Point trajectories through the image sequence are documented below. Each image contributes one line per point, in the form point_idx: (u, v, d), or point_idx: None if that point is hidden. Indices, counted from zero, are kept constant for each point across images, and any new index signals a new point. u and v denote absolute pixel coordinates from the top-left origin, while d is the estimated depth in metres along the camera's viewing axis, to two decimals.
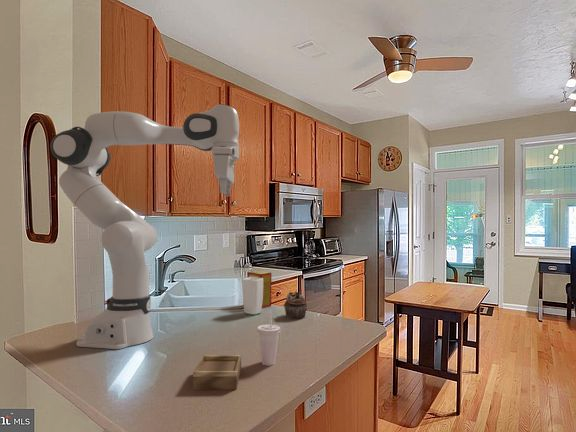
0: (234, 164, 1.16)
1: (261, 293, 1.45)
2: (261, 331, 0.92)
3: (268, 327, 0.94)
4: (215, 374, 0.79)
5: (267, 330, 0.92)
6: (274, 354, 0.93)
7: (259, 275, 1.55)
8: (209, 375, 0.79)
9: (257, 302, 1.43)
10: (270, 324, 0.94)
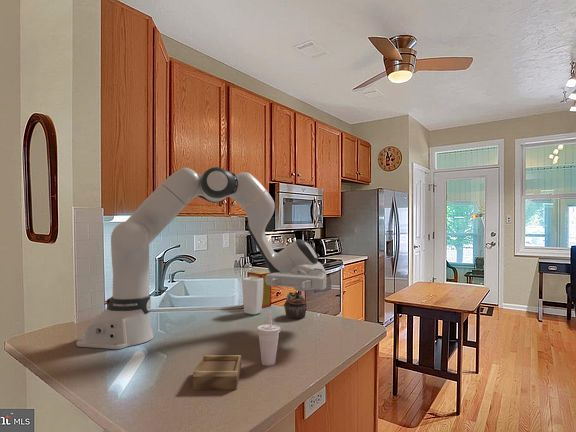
0: (295, 287, 1.16)
1: (261, 293, 1.45)
2: (261, 331, 0.92)
3: (268, 327, 0.94)
4: (215, 374, 0.79)
5: (267, 330, 0.92)
6: (274, 354, 0.93)
7: (259, 275, 1.55)
8: (209, 375, 0.79)
9: (257, 302, 1.43)
10: (270, 324, 0.94)
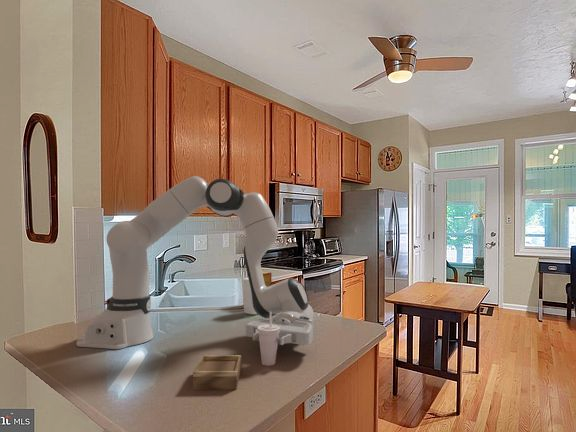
0: None
1: None
2: (261, 331, 0.92)
3: (268, 327, 0.94)
4: (215, 374, 0.79)
5: (267, 330, 0.92)
6: (274, 354, 0.93)
7: None
8: (209, 375, 0.79)
9: None
10: (270, 324, 0.94)
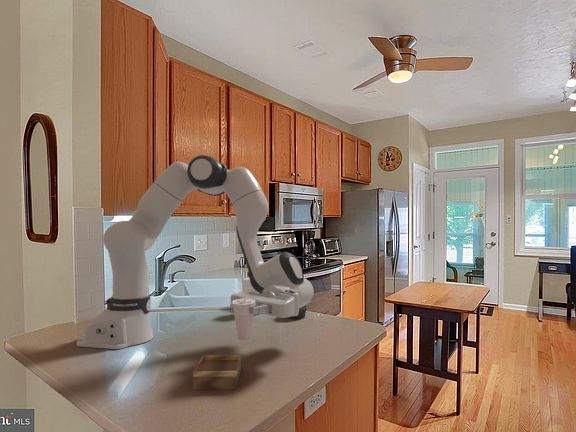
0: None
1: None
2: (233, 305, 0.89)
3: (242, 301, 0.90)
4: (215, 374, 0.79)
5: (239, 304, 0.88)
6: (249, 328, 0.89)
7: None
8: (209, 375, 0.79)
9: None
10: (244, 298, 0.90)
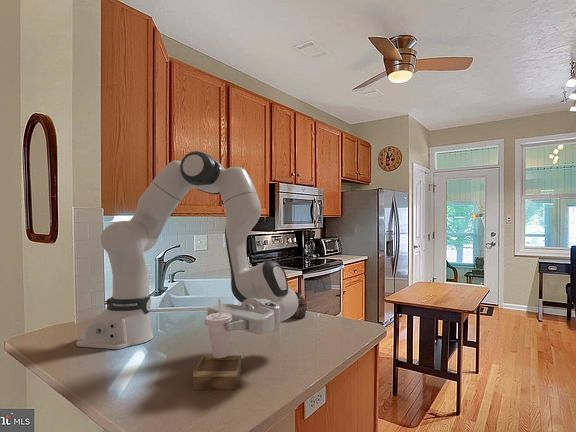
0: None
1: None
2: (207, 320, 0.82)
3: (217, 316, 0.83)
4: (215, 374, 0.79)
5: (213, 319, 0.82)
6: (224, 346, 0.82)
7: None
8: (209, 375, 0.79)
9: None
10: (219, 313, 0.83)
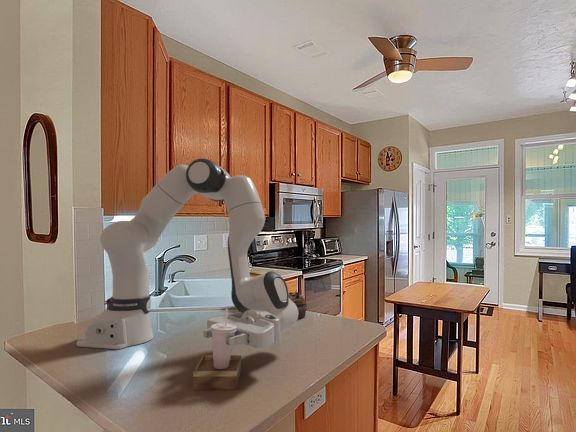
0: None
1: None
2: (212, 329, 0.83)
3: (222, 326, 0.84)
4: (215, 374, 0.79)
5: (218, 328, 0.82)
6: (226, 357, 0.83)
7: None
8: (209, 375, 0.79)
9: None
10: (225, 323, 0.84)
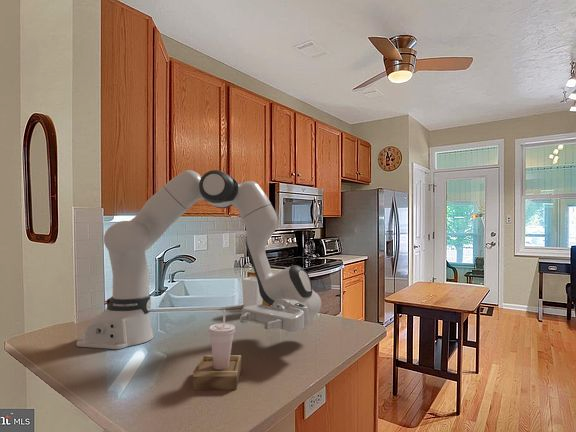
0: None
1: None
2: (210, 330, 0.82)
3: (221, 327, 0.84)
4: (215, 374, 0.79)
5: (217, 330, 0.82)
6: (225, 357, 0.82)
7: None
8: (209, 375, 0.79)
9: (257, 302, 1.43)
10: (223, 323, 0.84)
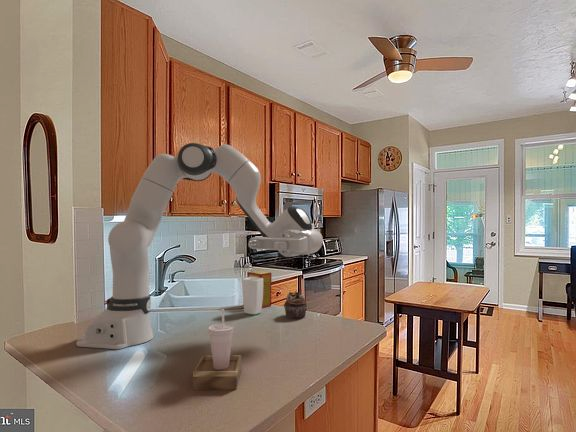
0: (280, 252, 1.11)
1: (261, 293, 1.45)
2: (209, 330, 0.82)
3: (220, 326, 0.84)
4: (215, 374, 0.79)
5: (216, 330, 0.82)
6: (225, 357, 0.82)
7: (259, 275, 1.55)
8: (209, 375, 0.79)
9: (257, 302, 1.43)
10: (222, 323, 0.84)
